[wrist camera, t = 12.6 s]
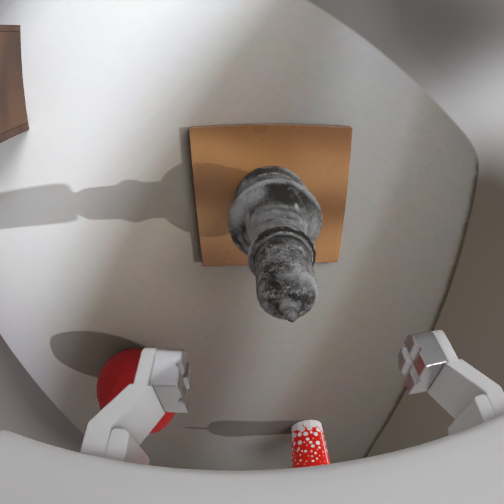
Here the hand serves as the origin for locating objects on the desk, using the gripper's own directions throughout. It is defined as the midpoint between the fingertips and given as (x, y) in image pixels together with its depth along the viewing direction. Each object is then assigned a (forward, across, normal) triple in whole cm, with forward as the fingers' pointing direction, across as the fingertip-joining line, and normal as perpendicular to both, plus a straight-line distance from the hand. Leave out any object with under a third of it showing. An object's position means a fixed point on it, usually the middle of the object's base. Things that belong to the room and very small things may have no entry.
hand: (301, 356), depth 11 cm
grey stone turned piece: (+14, 0, 0) cm, 14 cm away
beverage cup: (+14, -6, +36) cm, 40 cm away
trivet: (+15, 0, 0) cm, 15 cm away
